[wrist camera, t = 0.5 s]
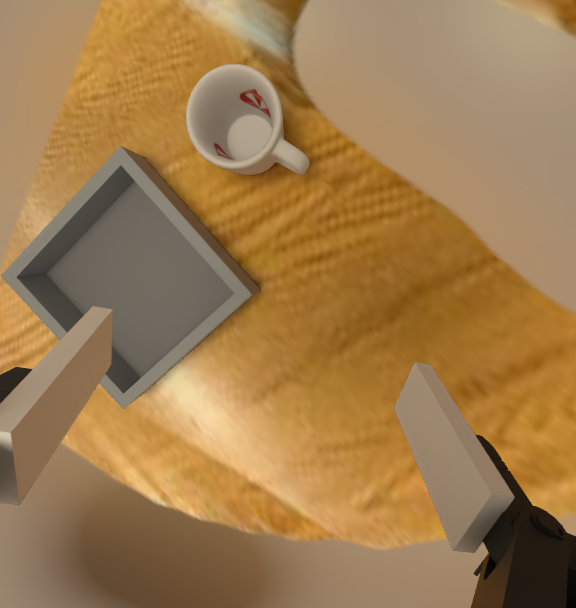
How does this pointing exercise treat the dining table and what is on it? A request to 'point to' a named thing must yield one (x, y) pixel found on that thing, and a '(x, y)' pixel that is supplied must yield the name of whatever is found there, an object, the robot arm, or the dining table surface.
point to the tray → (131, 272)
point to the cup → (240, 122)
